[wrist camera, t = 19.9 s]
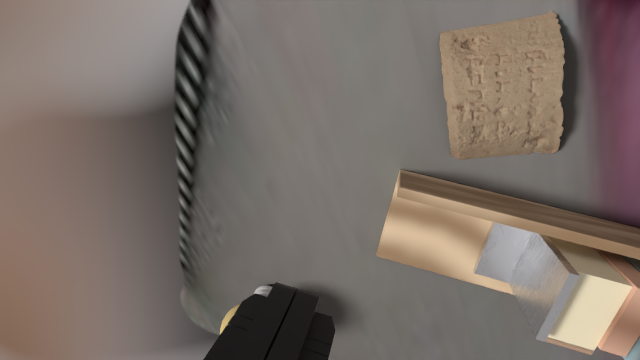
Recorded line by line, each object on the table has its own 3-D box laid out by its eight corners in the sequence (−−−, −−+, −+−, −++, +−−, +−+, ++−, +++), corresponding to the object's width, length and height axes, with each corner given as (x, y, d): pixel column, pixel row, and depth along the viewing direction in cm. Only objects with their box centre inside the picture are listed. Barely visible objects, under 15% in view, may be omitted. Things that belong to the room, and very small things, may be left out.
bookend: (495, 215, 37) (522, 260, 29) (539, 226, 36) (580, 275, 28) (473, 270, 39) (492, 326, 31) (514, 281, 39) (545, 341, 30)
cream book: (538, 228, 37) (573, 270, 29) (585, 240, 36) (632, 286, 29) (512, 286, 39) (537, 339, 32) (555, 298, 39) (591, 355, 31)
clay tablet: (556, 155, 36) (567, 162, 33) (449, 168, 38) (452, 175, 36) (553, -2, 32) (566, -7, 29) (434, 25, 35) (437, 22, 32)
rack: (400, 169, 39) (399, 205, 29) (651, 231, 35) (745, 295, 26) (376, 251, 42) (368, 308, 33) (601, 314, 39) (668, 399, 29)
